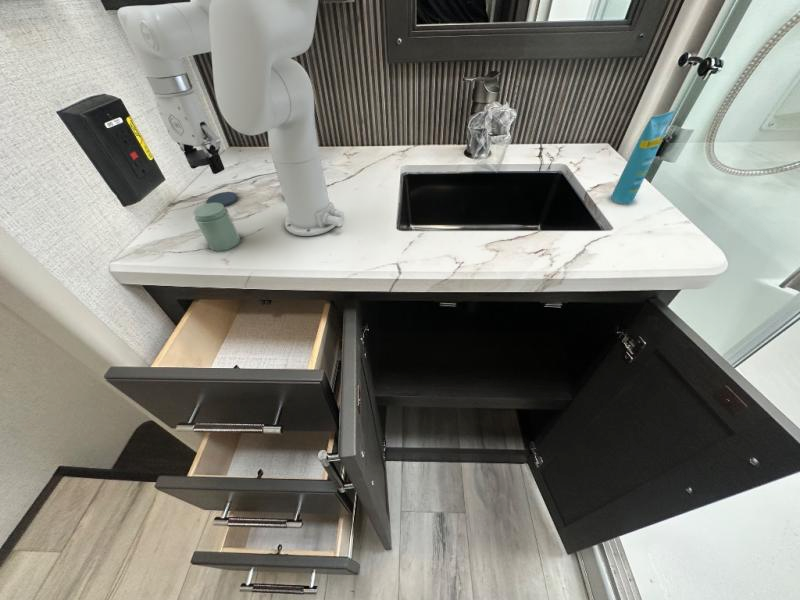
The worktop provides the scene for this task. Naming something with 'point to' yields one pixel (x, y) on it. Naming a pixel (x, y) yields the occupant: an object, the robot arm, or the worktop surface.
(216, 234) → the jar
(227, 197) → the coaster
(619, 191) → the tube
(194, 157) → the lid
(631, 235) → the worktop surface
